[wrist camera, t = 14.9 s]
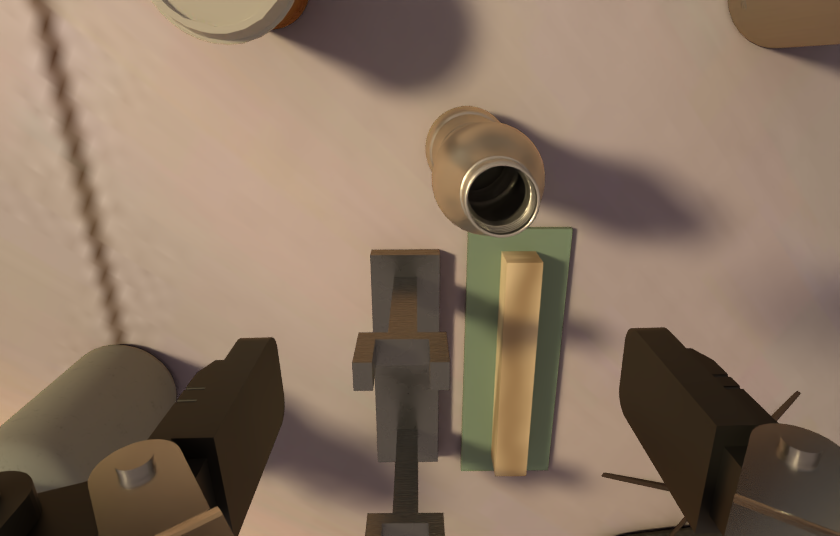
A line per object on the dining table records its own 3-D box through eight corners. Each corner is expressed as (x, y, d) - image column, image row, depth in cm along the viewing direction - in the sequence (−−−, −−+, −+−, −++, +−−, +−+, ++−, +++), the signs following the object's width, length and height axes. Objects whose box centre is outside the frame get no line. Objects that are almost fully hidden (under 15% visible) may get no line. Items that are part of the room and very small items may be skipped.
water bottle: (204, 395, 51) (-17, 730, 25) (136, 445, 53) (-133, 803, 27) (125, 322, 49) (-217, 612, 22) (56, 377, 51) (-331, 704, 24)
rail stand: (439, 249, 46) (450, 333, 31) (437, 451, 54) (445, 596, 39) (371, 249, 46) (350, 333, 31) (378, 451, 54) (364, 597, 39)
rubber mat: (570, 227, 46) (572, 228, 45) (546, 466, 55) (547, 470, 54) (468, 227, 46) (468, 229, 45) (460, 466, 55) (461, 470, 54)
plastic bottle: (469, 86, 42) (513, 96, 23) (520, 151, 43) (599, 210, 25) (408, 140, 43) (402, 191, 24) (460, 201, 45) (492, 292, 26)
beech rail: (535, 251, 46) (543, 262, 43) (520, 454, 53) (526, 476, 51) (501, 251, 46) (507, 262, 43) (490, 455, 53) (495, 476, 51)
